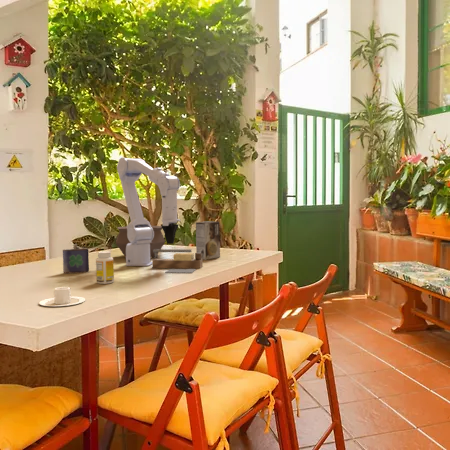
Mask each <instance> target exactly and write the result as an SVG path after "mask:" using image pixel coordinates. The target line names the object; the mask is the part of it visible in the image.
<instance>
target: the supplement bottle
mask: <svg viewBox="0 0 450 450" xmlns="http://www.w3.org/2000/svg"><path fill="white" fill-rule="evenodd" d="M111 253H112V252H111V251H104V250H102V251H99V252H97V256H98V257H97V258H96V259H95V271H96V275H95V276H96V283H97V284H99V285H107V284H112V283H114V282H115V274H114V273H115V268H114V267H115V266H114V258H113V257H112V254H111Z"/></svg>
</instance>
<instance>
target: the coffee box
mask: <svg viewBox="0 0 450 450" xmlns="http://www.w3.org/2000/svg"><path fill="white" fill-rule="evenodd" d="M220 235H221V234H220V221H215V220H214V221H213V220H210V221H198V222H195V241H196V245H195V246H196V248H195V249H196V252H195V253H201V259H202V260H211V259H217V258H221V243H220V241H221V240H220V239H221V237H220Z"/></svg>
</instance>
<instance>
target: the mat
mask: <svg viewBox="0 0 450 450" xmlns="http://www.w3.org/2000/svg"><path fill="white" fill-rule="evenodd" d="M195 271H197V268H168V270H166V271H165V272H164V273H165V274H193V273H195Z"/></svg>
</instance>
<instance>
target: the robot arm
mask: <svg viewBox="0 0 450 450" xmlns="http://www.w3.org/2000/svg"><path fill="white" fill-rule="evenodd" d="M116 171H117V173H118V177H119V180H120V183H121V187H122V190H123V195H124V196H123V197H124V199H125V203H126V206H127V211H128V214H129V218H130V222H129V223H128V224H127V225H126V226H127V237H128V240H129V241H130V243H128V244H127V246H126V257H125V266H127V267H128V266H130V267H132V266H133V267H134V266H135V267H136V266H137V267H138V266H142V267H146V266H147V267H148V266H151V265H153V264H152V261H151V258H150V243H151V240H153V238H154V231H153V228H152V227H151V226H152V225H151V222H150V221H149V220H148V219H146V218H145V217H144V213H143V210H142V206H141V203H140V197H139V195H138V192H137V191H138V189H137V187H136V181H138V180H139V179H140V177H141V176H142V174H144V175H146V176H148V179H149V181H150V182H152V183H153V184H155V185H157V186H158V189H159V191H160V192H159V193H160V196H161V213H162V214H161V217H162V219H161V223H162V225H160V226H161V227H162V231H163V233H164V236H165V237H164V238H165V241H166V244H167V245H168V244H169V245H170V244H171V245H173V244H174V242H175V238H176V233H177V230H178V227H179V224H177V222H181V219H180V218H178V190H179V189H180V187H181V181H180V179H179V177H178V176H177V175H173V176H172V175H170V174H169V173H168V172H165V171H163V170H162V168H161V167H155V168H153V167H152V166H150V165H149V164H148V163H146V161H145V160H144V159H142V158H140V157H139V158H131V157H130V158H129V157H119V159H118V161H117V166H116ZM147 220H148V221H147Z"/></svg>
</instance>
